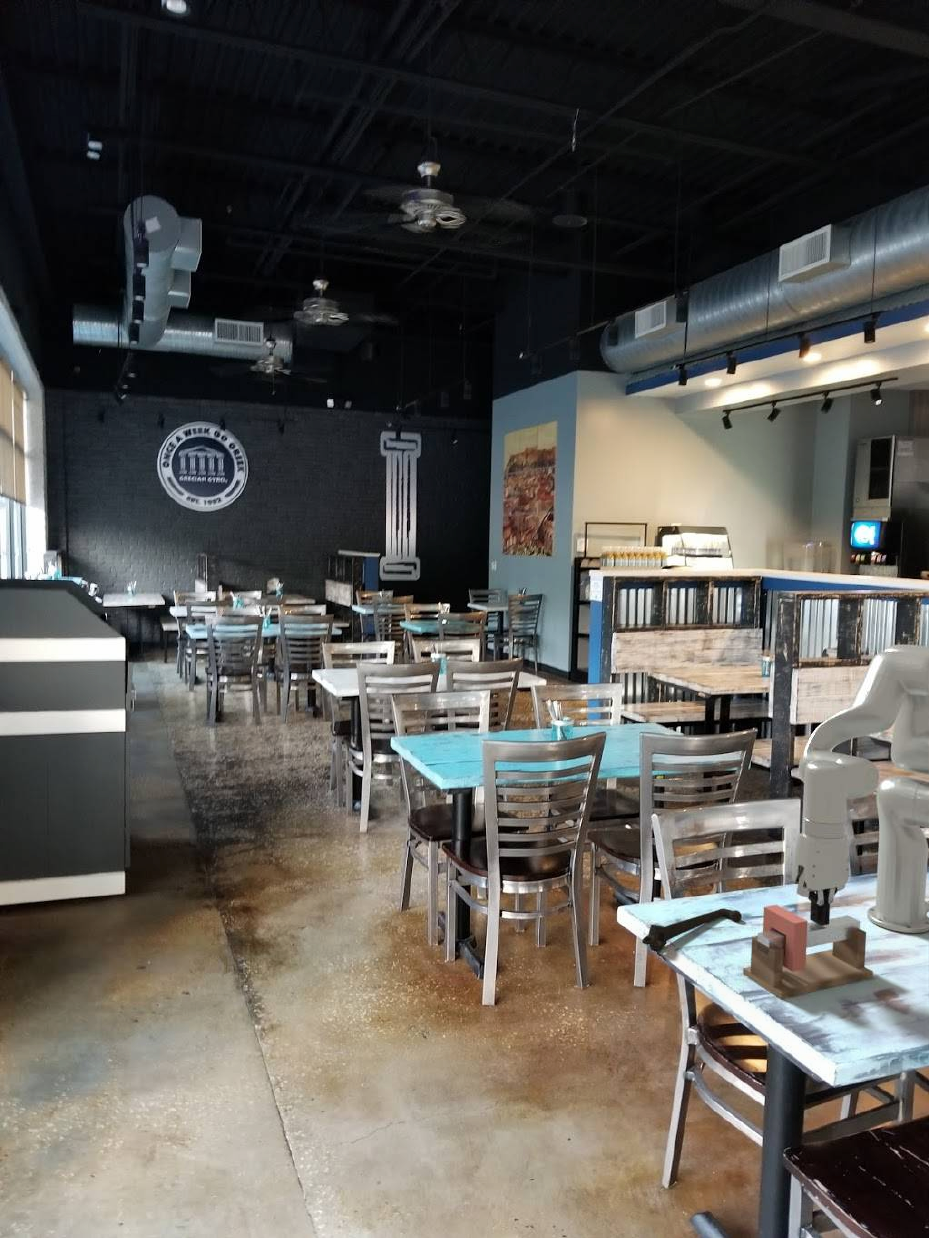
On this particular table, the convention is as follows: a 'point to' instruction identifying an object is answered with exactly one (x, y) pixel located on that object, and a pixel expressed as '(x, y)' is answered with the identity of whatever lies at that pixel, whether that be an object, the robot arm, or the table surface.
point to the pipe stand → (810, 967)
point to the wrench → (684, 927)
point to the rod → (814, 933)
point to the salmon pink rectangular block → (788, 935)
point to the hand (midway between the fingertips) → (819, 922)
